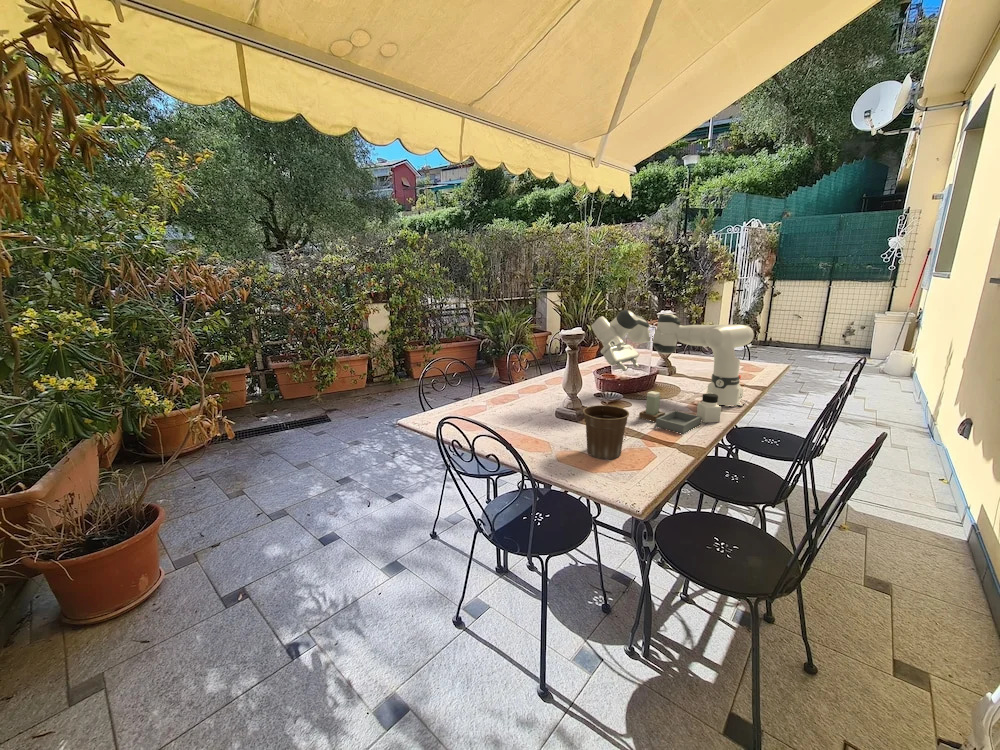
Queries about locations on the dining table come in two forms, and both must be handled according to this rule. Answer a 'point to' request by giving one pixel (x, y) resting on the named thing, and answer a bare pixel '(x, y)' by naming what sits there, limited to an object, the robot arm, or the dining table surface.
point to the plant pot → (605, 430)
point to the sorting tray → (678, 421)
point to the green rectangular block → (652, 403)
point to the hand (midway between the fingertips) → (631, 368)
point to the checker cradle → (650, 417)
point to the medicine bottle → (709, 408)
